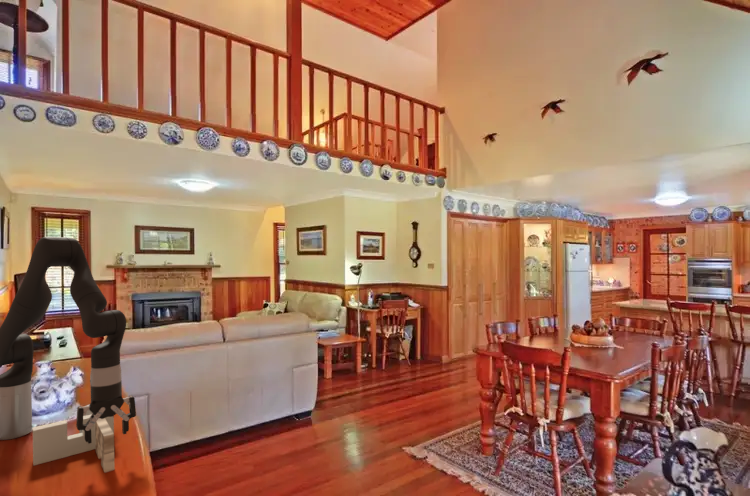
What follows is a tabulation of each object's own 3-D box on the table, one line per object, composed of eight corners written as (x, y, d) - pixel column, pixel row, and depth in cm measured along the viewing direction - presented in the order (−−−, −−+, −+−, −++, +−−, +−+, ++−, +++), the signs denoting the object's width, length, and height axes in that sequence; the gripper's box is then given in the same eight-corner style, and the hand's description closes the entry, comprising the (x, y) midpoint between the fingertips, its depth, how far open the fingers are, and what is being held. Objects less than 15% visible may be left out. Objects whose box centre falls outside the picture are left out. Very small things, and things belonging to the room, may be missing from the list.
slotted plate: (95, 452, 130) (95, 419, 130) (104, 449, 131) (104, 417, 131) (104, 472, 117) (103, 436, 117) (114, 469, 119) (114, 434, 119)
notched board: (33, 465, 122) (32, 430, 122) (33, 461, 124) (32, 427, 124) (114, 443, 135) (113, 412, 135) (112, 440, 137) (111, 409, 137)
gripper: (77, 390, 114) (78, 450, 114) (137, 378, 123) (138, 434, 123) (74, 383, 119) (75, 441, 119) (131, 373, 129) (132, 426, 129)
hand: (107, 437), depth 121 cm, fingers open, 8 cm apart
